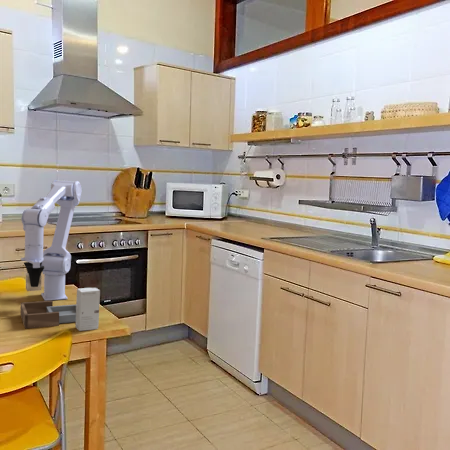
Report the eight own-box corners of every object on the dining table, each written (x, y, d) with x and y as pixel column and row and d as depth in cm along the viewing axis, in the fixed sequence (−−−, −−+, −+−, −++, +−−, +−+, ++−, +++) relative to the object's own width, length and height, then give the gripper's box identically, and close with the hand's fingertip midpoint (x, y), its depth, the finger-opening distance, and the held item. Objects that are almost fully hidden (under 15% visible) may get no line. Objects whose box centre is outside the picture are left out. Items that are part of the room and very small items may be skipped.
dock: (20, 314, 157) (20, 302, 156) (51, 312, 161) (52, 300, 161) (25, 328, 144) (25, 315, 144) (58, 325, 149) (59, 312, 149)
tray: (45, 312, 160) (46, 299, 159) (88, 309, 167) (89, 296, 166) (51, 325, 149) (52, 311, 148) (97, 320, 155) (98, 307, 155)
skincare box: (79, 331, 145) (80, 292, 143) (74, 327, 148) (75, 288, 147) (99, 328, 148) (100, 290, 147) (94, 324, 152) (95, 286, 150)
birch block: (25, 287, 163) (25, 273, 163) (39, 287, 166) (39, 272, 165) (27, 291, 160) (27, 276, 159) (41, 290, 162) (41, 275, 161)
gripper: (19, 241, 165) (18, 280, 167) (23, 248, 153) (22, 290, 154) (41, 241, 169) (40, 279, 170) (46, 248, 156) (46, 289, 157)
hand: (33, 284), depth 162 cm, fingers closed on birch block, 4 cm apart
